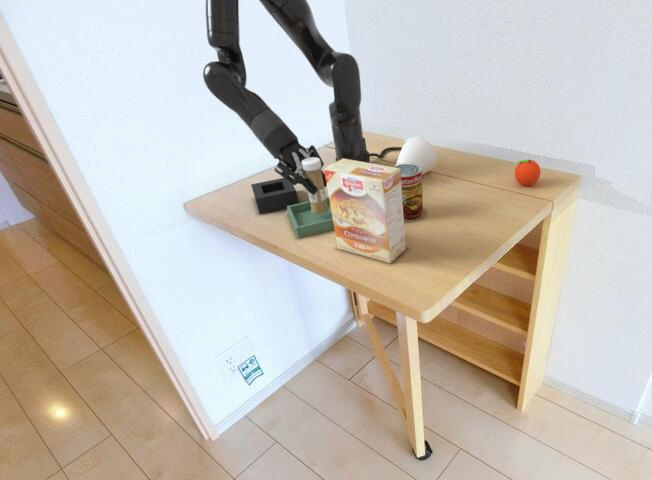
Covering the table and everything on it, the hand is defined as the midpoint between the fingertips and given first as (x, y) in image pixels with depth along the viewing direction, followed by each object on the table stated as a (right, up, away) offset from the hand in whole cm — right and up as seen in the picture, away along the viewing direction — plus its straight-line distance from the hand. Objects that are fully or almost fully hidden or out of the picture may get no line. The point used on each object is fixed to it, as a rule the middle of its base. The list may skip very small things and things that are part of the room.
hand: (321, 188), depth 109 cm
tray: (-1, -7, +6) cm, 9 cm away
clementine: (+55, +5, +15) cm, 57 cm away
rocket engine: (+21, +8, +23) cm, 32 cm away
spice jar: (-1, -5, +5) cm, 7 cm away
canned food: (+22, -5, +6) cm, 23 cm away
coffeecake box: (+13, -16, -7) cm, 22 cm away
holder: (-16, 0, +17) cm, 23 cm away
